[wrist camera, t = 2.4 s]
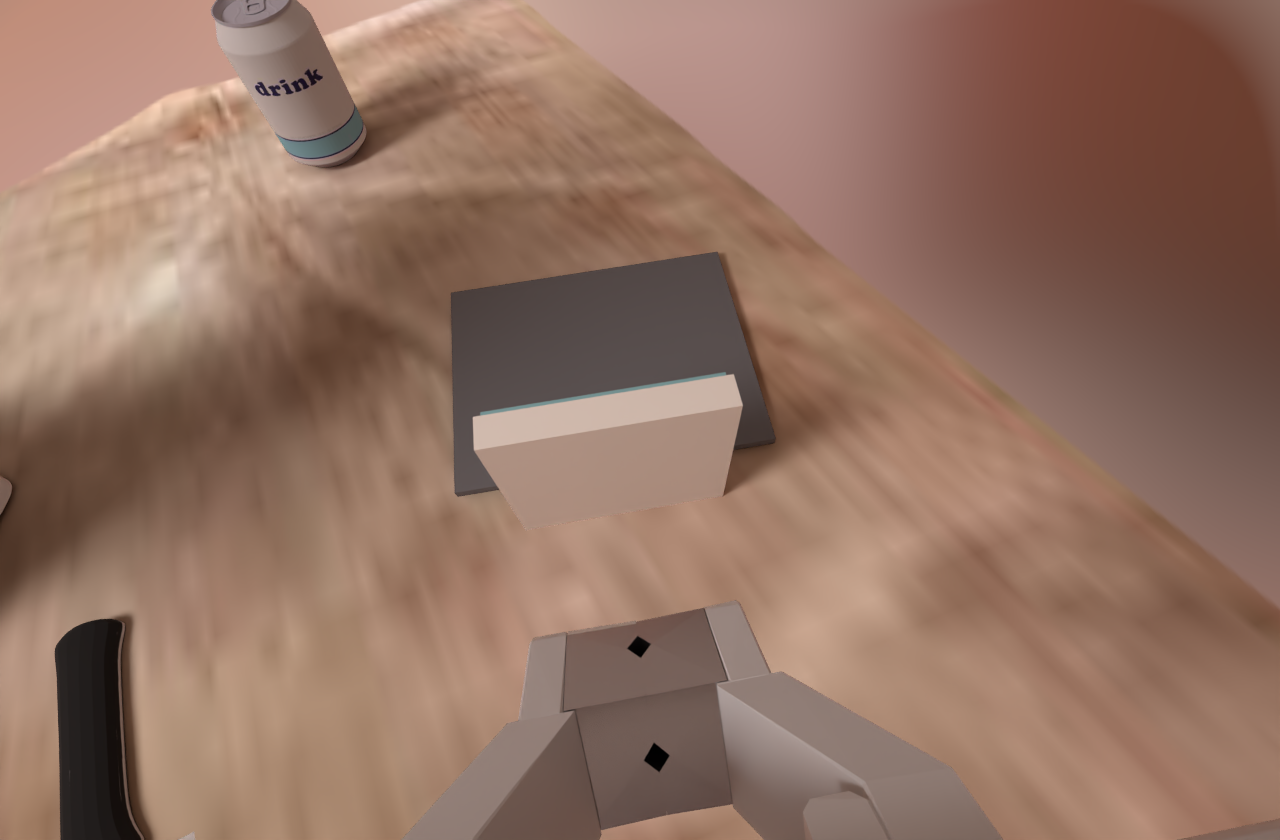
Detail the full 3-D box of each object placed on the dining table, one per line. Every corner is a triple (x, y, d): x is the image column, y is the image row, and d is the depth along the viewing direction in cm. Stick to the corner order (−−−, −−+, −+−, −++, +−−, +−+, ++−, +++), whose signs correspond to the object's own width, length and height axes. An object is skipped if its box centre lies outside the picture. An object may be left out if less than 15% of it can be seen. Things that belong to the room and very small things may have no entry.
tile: (722, 496, 36) (742, 405, 27) (525, 530, 36) (474, 450, 26) (715, 466, 37) (732, 368, 28) (523, 499, 37) (472, 411, 27)
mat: (774, 442, 38) (775, 438, 37) (457, 496, 37) (454, 492, 36) (716, 257, 45) (717, 251, 45) (453, 298, 45) (451, 292, 44)
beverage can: (298, 184, 51) (203, 39, 41) (289, 137, 55) (198, -9, 44) (377, 161, 52) (305, 14, 42) (364, 116, 56) (293, -31, 45)
